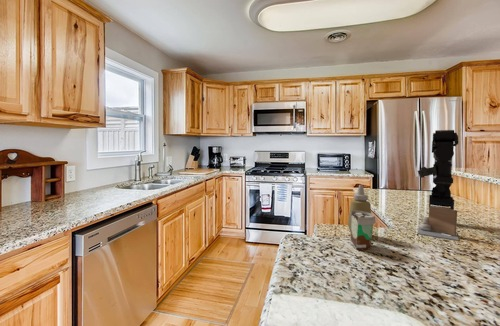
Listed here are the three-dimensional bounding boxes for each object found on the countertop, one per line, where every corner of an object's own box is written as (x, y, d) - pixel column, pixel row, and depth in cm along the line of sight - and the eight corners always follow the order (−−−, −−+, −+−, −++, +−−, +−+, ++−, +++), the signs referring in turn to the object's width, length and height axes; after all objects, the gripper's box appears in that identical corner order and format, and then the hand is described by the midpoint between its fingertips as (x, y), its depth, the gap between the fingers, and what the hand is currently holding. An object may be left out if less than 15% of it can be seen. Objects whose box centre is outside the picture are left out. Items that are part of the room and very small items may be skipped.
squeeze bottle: (371, 233, 96) (373, 184, 95) (371, 239, 88) (373, 186, 88) (348, 230, 99) (349, 183, 99) (346, 235, 92) (348, 185, 91)
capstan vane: (422, 227, 104) (423, 204, 104) (457, 234, 95) (458, 210, 95) (417, 228, 102) (418, 205, 102) (452, 236, 93) (453, 211, 92)
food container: (379, 253, 75) (381, 219, 75) (357, 251, 76) (358, 217, 76) (369, 240, 87) (370, 211, 87) (349, 239, 88) (350, 209, 88)
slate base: (419, 226, 108) (419, 225, 108) (455, 232, 101) (456, 230, 101) (417, 234, 97) (417, 232, 97) (458, 240, 90) (458, 239, 90)
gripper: (420, 160, 118) (418, 195, 118) (418, 160, 102) (416, 199, 103) (451, 161, 111) (449, 197, 112) (454, 161, 96) (452, 203, 96)
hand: (441, 199), depth 106 cm, fingers closed
